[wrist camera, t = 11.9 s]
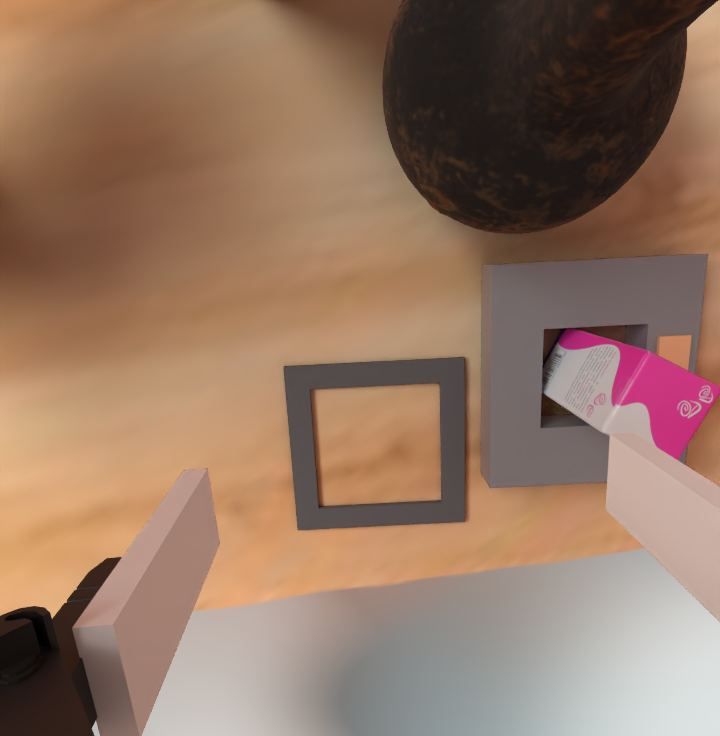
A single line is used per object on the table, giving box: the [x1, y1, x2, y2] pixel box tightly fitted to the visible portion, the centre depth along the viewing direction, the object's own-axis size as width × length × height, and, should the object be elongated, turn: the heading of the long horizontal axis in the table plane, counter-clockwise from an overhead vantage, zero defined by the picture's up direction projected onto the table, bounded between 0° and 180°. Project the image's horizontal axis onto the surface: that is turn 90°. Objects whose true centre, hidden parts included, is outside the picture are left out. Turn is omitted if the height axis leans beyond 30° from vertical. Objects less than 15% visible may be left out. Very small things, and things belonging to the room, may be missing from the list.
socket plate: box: [481, 254, 708, 488], centre depth 39 cm, size 18×16×3 cm
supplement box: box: [542, 328, 720, 460], centre depth 35 cm, size 6×6×12 cm
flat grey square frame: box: [284, 357, 465, 530], centre depth 42 cm, size 15×15×1 cm
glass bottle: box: [383, 0, 718, 234], centre depth 23 cm, size 18×18×28 cm
